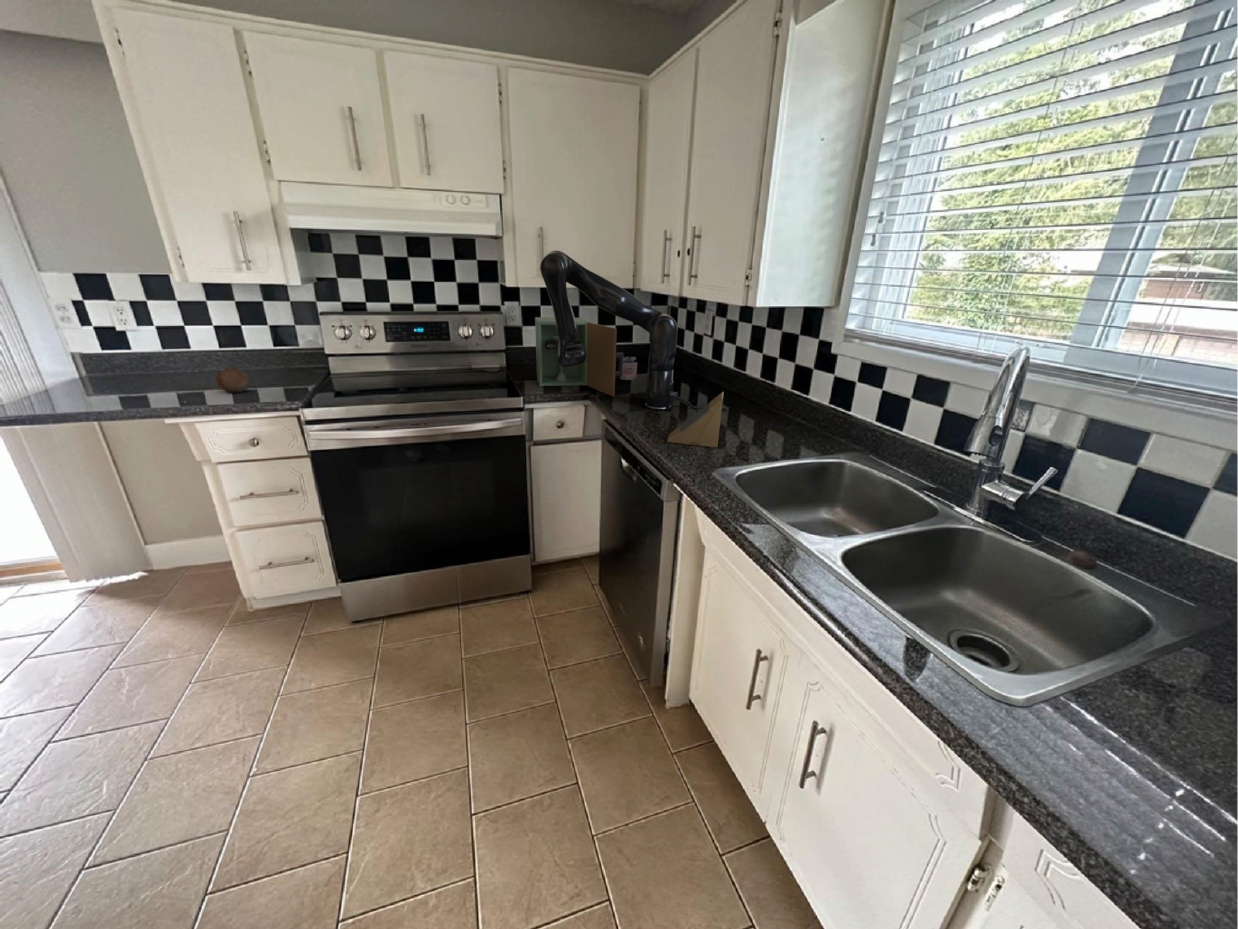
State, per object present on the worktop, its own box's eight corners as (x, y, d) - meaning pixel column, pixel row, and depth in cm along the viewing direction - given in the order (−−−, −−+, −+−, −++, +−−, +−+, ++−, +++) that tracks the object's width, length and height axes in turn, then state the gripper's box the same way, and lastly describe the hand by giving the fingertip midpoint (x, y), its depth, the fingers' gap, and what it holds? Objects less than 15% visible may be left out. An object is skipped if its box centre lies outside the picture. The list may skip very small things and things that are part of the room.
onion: (237, 397, 190) (234, 371, 190) (256, 392, 187) (253, 366, 188) (211, 394, 181) (207, 366, 181) (230, 389, 178) (227, 361, 179)
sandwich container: (669, 433, 159) (673, 386, 153) (718, 438, 156) (723, 391, 151) (666, 442, 151) (669, 393, 146) (717, 447, 148) (723, 398, 143)
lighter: (620, 380, 226) (621, 357, 222) (618, 378, 229) (619, 356, 225) (637, 379, 228) (638, 357, 224) (635, 377, 231) (636, 356, 227)
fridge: (587, 385, 214) (588, 321, 204) (539, 386, 210) (537, 321, 200) (582, 377, 227) (582, 317, 217) (536, 378, 222) (535, 317, 212)
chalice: (571, 378, 221) (571, 336, 214) (568, 381, 214) (568, 338, 208) (555, 377, 221) (554, 335, 214) (551, 380, 215) (550, 337, 208)
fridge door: (599, 383, 217) (600, 321, 207) (625, 394, 201) (628, 328, 191) (586, 385, 214) (587, 322, 204) (612, 396, 198) (614, 328, 188)
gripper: (583, 338, 199) (577, 332, 214) (547, 338, 196) (543, 332, 211) (583, 357, 202) (577, 350, 217) (548, 357, 199) (544, 350, 214)
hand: (560, 341), depth 214 cm, fingers open, 8 cm apart
